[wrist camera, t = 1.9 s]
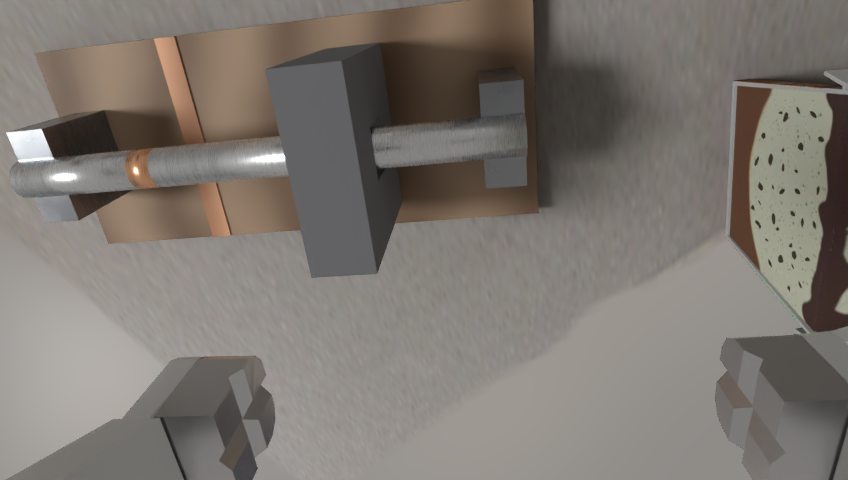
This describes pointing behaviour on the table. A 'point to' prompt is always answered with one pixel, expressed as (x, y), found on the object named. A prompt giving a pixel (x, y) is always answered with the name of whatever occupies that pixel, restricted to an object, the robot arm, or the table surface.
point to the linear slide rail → (251, 153)
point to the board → (254, 114)
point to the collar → (337, 156)
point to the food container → (793, 194)
